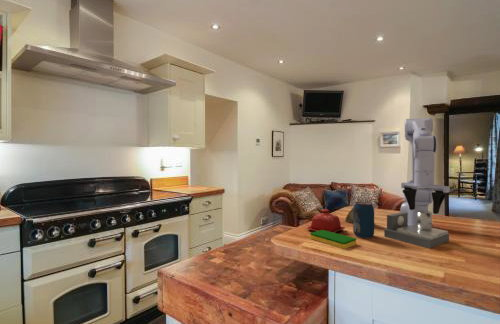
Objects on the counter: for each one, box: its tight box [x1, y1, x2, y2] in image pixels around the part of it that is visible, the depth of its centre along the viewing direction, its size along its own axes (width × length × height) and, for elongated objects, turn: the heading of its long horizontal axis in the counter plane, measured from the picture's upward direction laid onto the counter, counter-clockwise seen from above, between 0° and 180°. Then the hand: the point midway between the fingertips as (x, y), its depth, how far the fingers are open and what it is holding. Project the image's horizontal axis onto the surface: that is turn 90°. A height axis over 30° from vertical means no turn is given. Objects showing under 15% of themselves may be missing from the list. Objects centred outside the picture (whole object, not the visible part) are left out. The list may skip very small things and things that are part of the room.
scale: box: [383, 212, 450, 249], centre depth 97 cm, size 15×13×8 cm
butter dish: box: [306, 208, 346, 233], centre depth 108 cm, size 12×12×8 cm
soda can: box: [352, 201, 375, 239], centre depth 100 cm, size 7×7×12 cm
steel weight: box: [417, 210, 433, 231], centre depth 95 cm, size 4×4×6 cm
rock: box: [345, 200, 375, 225], centre depth 120 cm, size 11×9×10 cm
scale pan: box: [397, 224, 449, 240], centre depth 95 cm, size 12×11×1 cm
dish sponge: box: [309, 230, 357, 250], centre depth 95 cm, size 7×14×2 cm, turn 37°
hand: (423, 211), depth 95 cm, fingers open, 7 cm apart
